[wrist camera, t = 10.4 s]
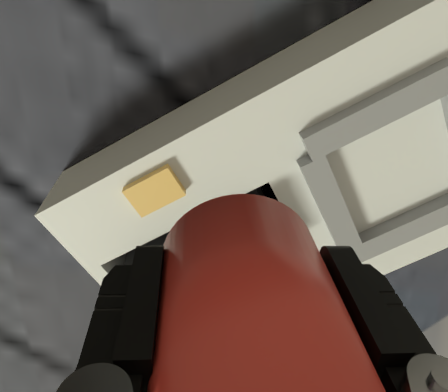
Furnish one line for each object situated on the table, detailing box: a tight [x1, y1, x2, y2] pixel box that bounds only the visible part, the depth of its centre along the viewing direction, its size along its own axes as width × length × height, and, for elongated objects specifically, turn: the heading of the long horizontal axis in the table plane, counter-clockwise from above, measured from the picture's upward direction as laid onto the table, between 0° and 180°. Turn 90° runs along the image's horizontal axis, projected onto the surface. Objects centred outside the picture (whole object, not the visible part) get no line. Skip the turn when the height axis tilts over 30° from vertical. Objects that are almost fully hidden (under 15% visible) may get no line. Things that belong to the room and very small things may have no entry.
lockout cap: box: [147, 194, 386, 392], centre depth 8 cm, size 4×4×6 cm
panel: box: [35, 0, 448, 285], centre depth 25 cm, size 16×32×8 cm, turn 118°
